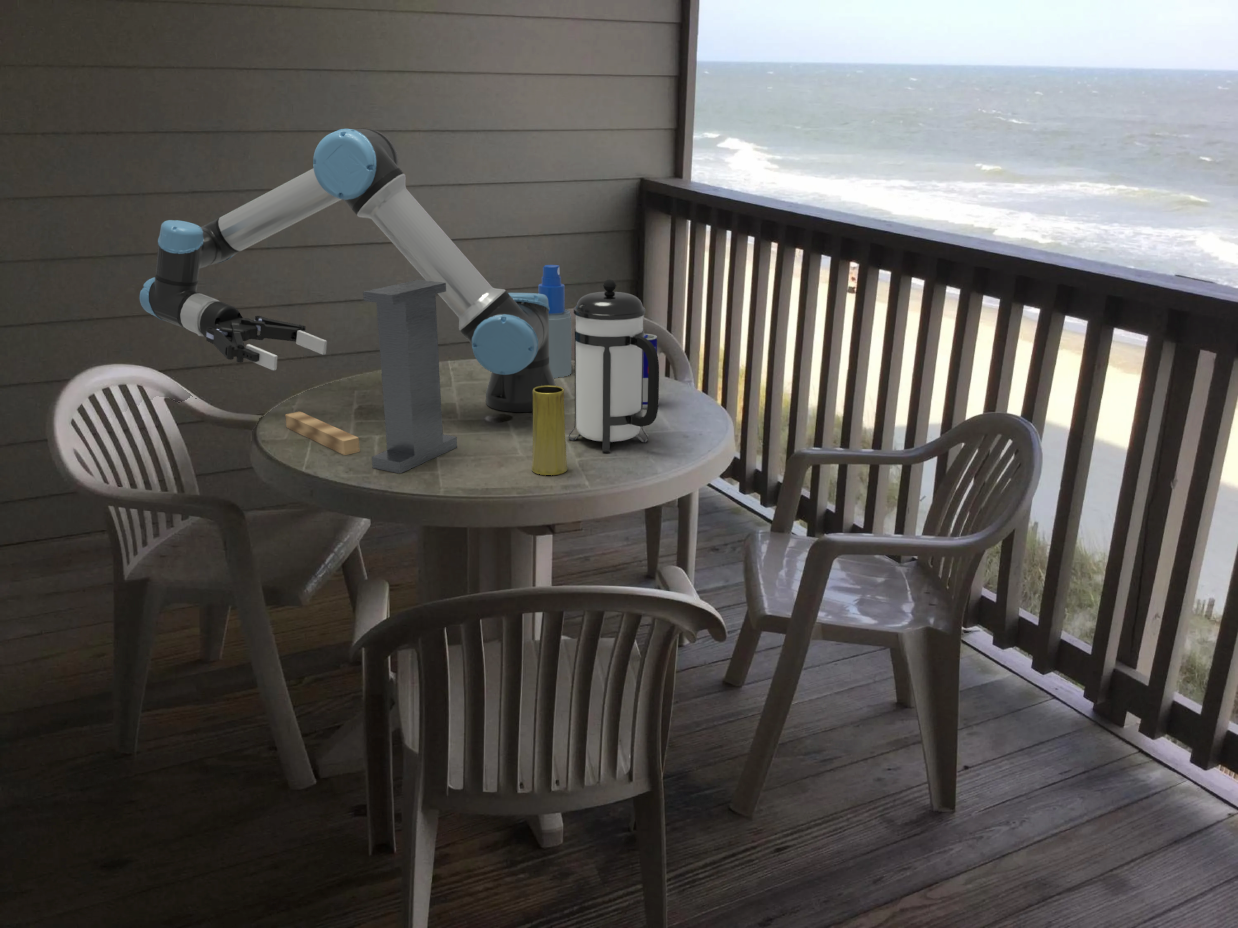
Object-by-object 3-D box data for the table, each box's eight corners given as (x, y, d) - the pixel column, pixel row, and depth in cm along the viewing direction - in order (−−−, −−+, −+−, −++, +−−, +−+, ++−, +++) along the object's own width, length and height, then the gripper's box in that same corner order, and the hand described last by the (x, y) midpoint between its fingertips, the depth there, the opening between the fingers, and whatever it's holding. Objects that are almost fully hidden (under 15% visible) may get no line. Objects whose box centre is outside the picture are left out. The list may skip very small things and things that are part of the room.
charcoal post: (372, 467, 170) (358, 292, 160) (430, 442, 183) (421, 279, 173) (400, 473, 167) (388, 296, 157) (457, 447, 181) (449, 282, 171)
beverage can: (653, 410, 204) (655, 338, 199) (629, 408, 205) (630, 337, 200) (657, 403, 209) (659, 333, 204) (633, 402, 210) (634, 332, 205)
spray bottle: (577, 370, 235) (576, 264, 226) (563, 379, 227) (562, 269, 218) (542, 367, 237) (540, 261, 229) (527, 376, 229) (524, 267, 221)
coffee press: (560, 453, 178) (558, 286, 168) (576, 426, 193) (575, 271, 183) (656, 458, 176) (660, 289, 166) (665, 431, 191) (669, 274, 181)
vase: (531, 464, 172) (529, 384, 168) (566, 463, 173) (566, 384, 168) (531, 476, 167) (530, 394, 162) (568, 475, 167) (567, 394, 162)
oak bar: (286, 429, 191) (285, 414, 190) (301, 426, 193) (299, 411, 192) (344, 457, 176) (343, 441, 175) (360, 453, 178) (358, 437, 177)
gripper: (257, 325, 203) (341, 359, 197) (160, 350, 181) (251, 389, 175) (260, 290, 199) (346, 324, 193) (161, 311, 178) (254, 350, 172)
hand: (301, 355), depth 184 cm, fingers open, 13 cm apart
